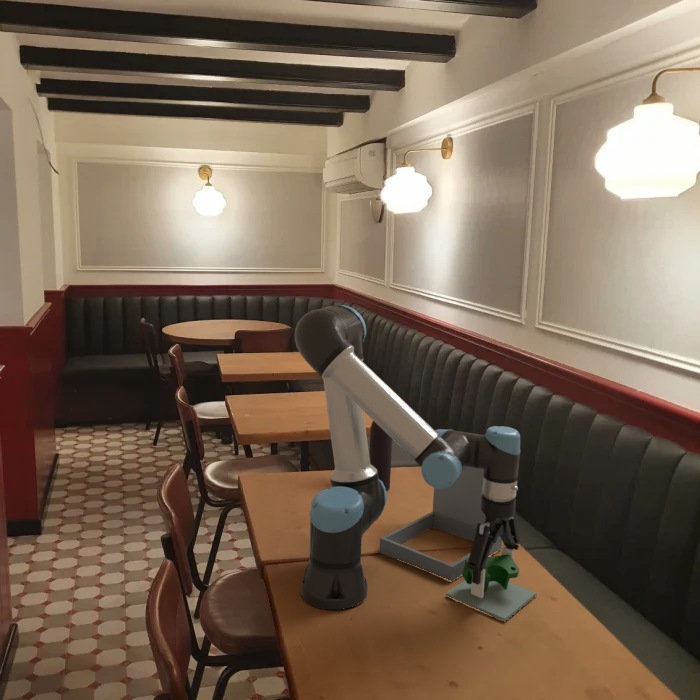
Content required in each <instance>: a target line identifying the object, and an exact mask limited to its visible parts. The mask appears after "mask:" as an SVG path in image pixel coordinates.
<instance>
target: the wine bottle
mask: <svg viewBox="0 0 700 700" xmlns="http://www.w3.org/2000/svg"><path fill="white" fill-rule="evenodd" d="M392 448H393V439H392V438H391V437H390V436H389V435H388V434H387V433H386V432H385V431H384V430H383V429H382V428H381V427H380V426H379V425H377V424H376V423H375V422H374V421H373V420H372V422H371V425H370V432H369V449H368V450H369V458H370V464H371V465H372V466H374V467H375V468H376V469H377V472H378V478H379V480H380V481H382V482H383V484H384V486H385V489H386V492H388V491H389V490H390V488H391V468H392V452H393V451H392Z"/></svg>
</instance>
